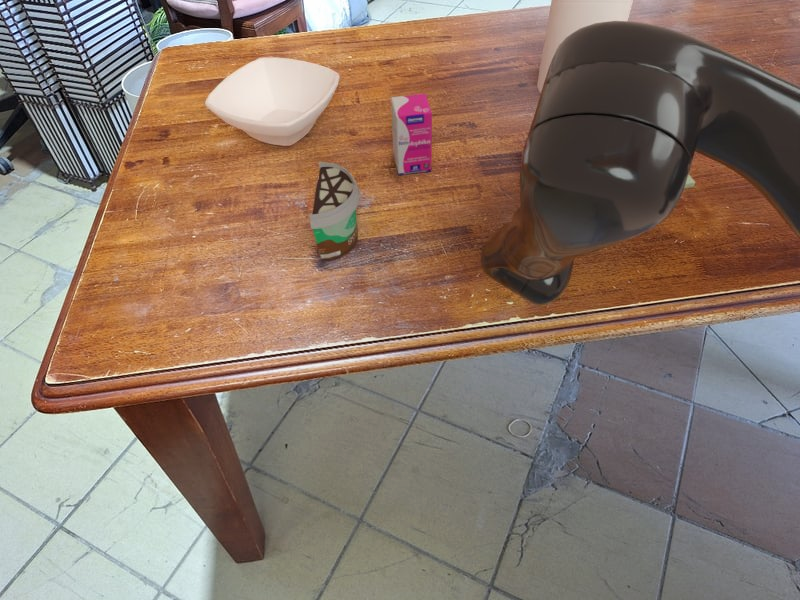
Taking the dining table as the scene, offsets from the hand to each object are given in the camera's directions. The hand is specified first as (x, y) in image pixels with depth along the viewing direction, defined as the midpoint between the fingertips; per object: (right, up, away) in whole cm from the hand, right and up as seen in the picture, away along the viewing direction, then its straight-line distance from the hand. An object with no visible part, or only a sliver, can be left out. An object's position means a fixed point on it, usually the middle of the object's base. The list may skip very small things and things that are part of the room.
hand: (618, 122), depth 79 cm
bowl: (-55, +5, +20) cm, 58 cm away
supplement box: (-31, -3, +12) cm, 33 cm away
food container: (-41, -18, +1) cm, 45 cm away
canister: (+1, +15, +25) cm, 30 cm away
